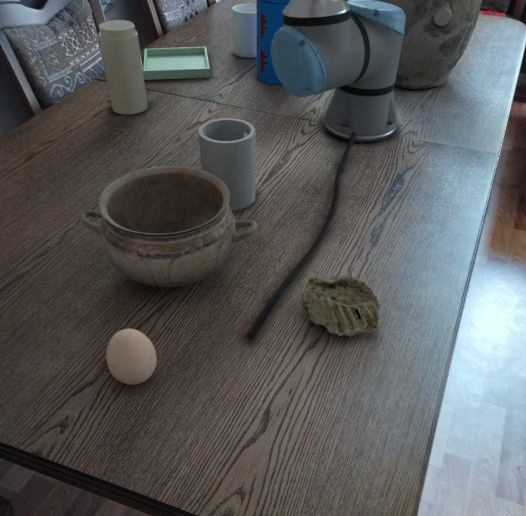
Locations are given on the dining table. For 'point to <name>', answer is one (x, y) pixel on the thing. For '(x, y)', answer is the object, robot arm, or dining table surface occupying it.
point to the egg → (131, 357)
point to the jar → (123, 66)
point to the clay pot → (433, 39)
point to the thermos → (268, 36)
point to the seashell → (341, 305)
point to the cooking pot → (167, 225)
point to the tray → (176, 63)
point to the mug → (245, 30)
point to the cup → (230, 157)
